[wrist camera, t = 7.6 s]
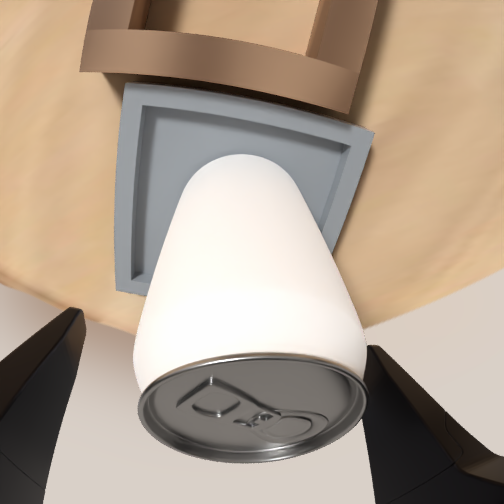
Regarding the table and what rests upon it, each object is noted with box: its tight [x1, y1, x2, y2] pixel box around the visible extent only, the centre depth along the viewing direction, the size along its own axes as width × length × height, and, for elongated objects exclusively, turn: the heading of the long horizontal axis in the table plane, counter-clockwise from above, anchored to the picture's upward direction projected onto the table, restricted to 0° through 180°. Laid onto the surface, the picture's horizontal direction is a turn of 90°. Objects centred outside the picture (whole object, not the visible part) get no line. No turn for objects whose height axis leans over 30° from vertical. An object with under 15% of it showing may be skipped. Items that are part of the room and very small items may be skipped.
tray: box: [114, 81, 375, 296], centre depth 17 cm, size 12×12×2 cm
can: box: [133, 154, 369, 463], centre depth 12 cm, size 6×6×12 cm
